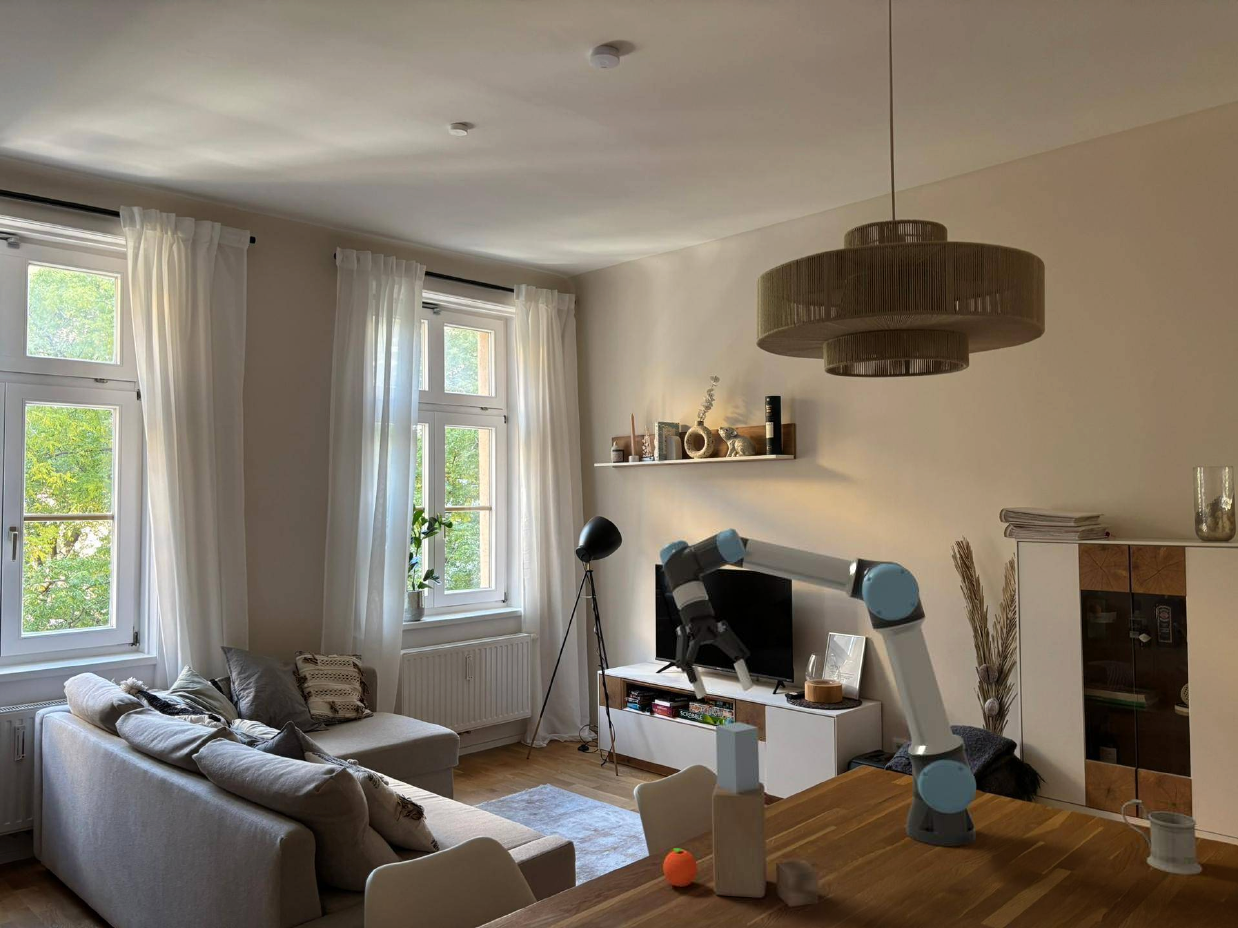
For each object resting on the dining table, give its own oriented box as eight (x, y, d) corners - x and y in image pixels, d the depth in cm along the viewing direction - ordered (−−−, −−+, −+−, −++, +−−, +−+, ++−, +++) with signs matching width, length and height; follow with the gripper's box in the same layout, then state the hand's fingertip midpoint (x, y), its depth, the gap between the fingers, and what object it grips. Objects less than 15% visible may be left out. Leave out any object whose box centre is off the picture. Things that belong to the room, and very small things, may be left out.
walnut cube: (804, 890, 180) (804, 859, 181) (818, 902, 174) (817, 871, 175) (776, 893, 179) (776, 862, 179) (789, 906, 173) (788, 874, 173)
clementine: (655, 879, 186) (655, 844, 187) (685, 874, 189) (685, 839, 189) (672, 894, 179) (671, 857, 179) (703, 888, 182) (702, 852, 182)
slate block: (740, 780, 187) (738, 721, 188) (759, 787, 182) (757, 727, 183) (717, 785, 184) (716, 725, 185) (736, 793, 179) (734, 731, 179)
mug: (1206, 863, 190) (1203, 805, 191) (1196, 878, 183) (1193, 817, 184) (1129, 847, 200) (1127, 792, 201) (1117, 860, 193) (1114, 803, 193)
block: (764, 899, 176) (762, 795, 177) (713, 896, 178) (711, 793, 179) (766, 879, 186) (764, 780, 187) (718, 876, 188) (716, 778, 189)
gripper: (725, 608, 219) (757, 691, 209) (642, 616, 205) (672, 706, 195) (743, 594, 214) (776, 679, 204) (659, 601, 200) (691, 693, 190)
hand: (726, 692), depth 200 cm, fingers open, 13 cm apart
